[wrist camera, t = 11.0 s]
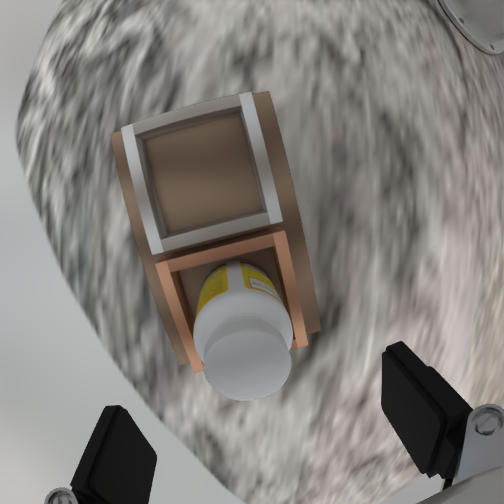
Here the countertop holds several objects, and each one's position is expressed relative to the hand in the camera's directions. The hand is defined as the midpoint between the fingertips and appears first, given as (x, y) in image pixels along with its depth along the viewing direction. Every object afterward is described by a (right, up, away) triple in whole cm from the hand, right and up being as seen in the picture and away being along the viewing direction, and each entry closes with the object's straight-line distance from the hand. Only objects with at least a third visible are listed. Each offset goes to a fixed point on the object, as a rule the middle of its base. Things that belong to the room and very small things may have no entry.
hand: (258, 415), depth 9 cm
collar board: (-3, +7, +13) cm, 15 cm away
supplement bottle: (-1, +3, +13) cm, 13 cm away
